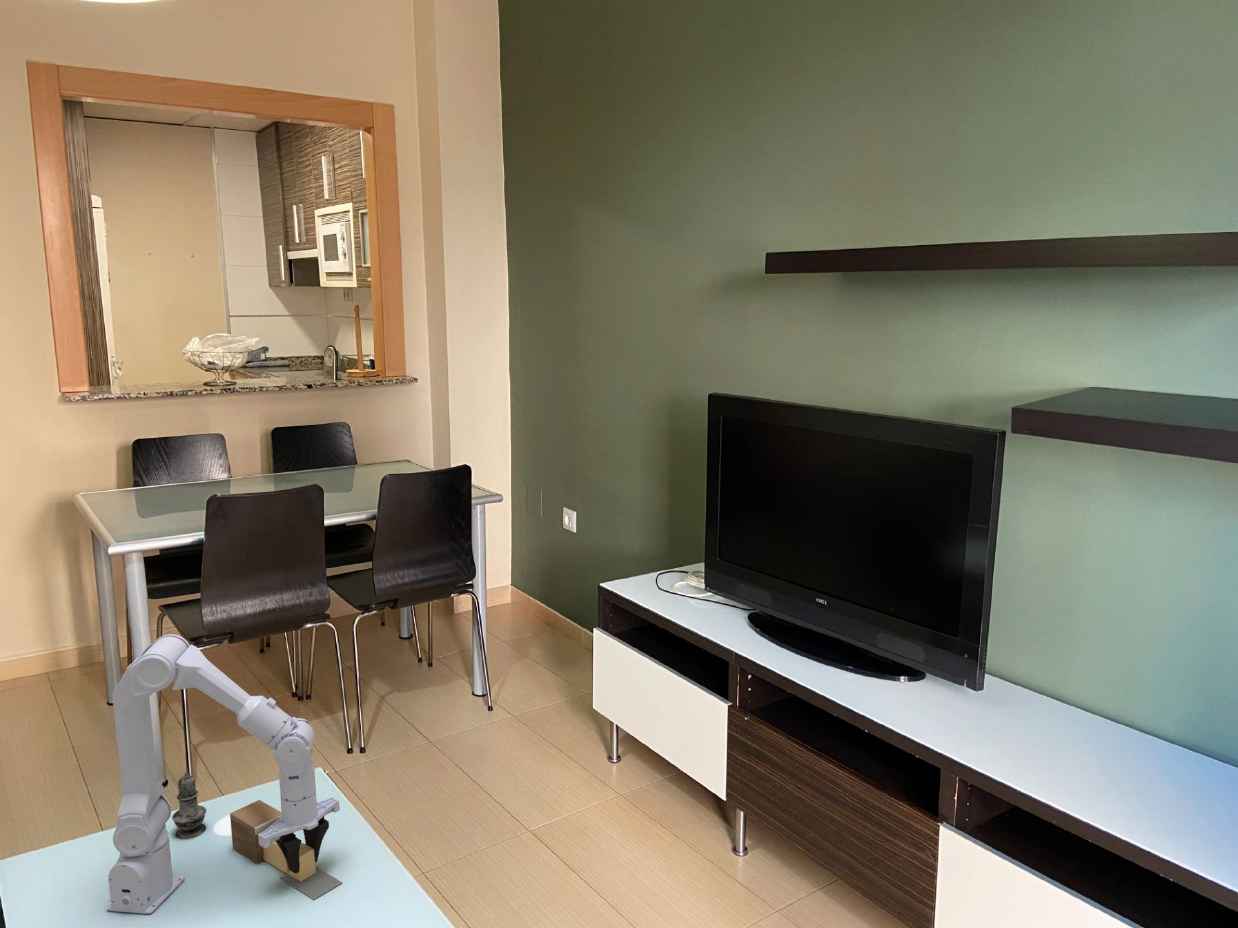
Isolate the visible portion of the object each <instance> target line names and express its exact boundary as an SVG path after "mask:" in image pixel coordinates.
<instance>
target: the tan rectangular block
mask: <svg viewBox="0 0 1238 928" xmlns="http://www.w3.org/2000/svg"><path fill="white" fill-rule="evenodd" d="M261 850H262V861H265V862H267V863H268V864H269V865H271V866H273V867H275V868H277V869H278V870H280V871H282V872H283V873H285V874H288V875H290V876H292V877H294V878H295V879H297V880H299V881H300V882H301V881H303V880H305V879H306V878H308V877H310V876H312V875H313V874H315V873H316V868H315V866H316V863H315V856H314V849H313V848H311V847H309V846H307V845H305V842H304V843H303V842H302V841H301V844H300V850H299V863H300V869H299V872H298V873H296V874H295V873H293V872H292V871H290V870H289V868H288V864H287V862H286V859H285V857H284V855H283V853H282V851H281V849H280V848H279V846H278V845H277V843H276V842H275V841H274V842H272V843H271V846H269V847H267V848H264V847H262V846H261Z"/></svg>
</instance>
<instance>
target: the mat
mask: <svg viewBox="0 0 1238 928" xmlns="http://www.w3.org/2000/svg"><path fill="white" fill-rule="evenodd" d="M315 868H316V873H315V874H313V875H312V876H310V877H308V878H306V879H305V880H303V881H301V882H300V881H299V880H297V879H295V878H294V877H292V876H290V875H288V874H287V873H285V874H284V875H283V876H281V877H280V880H282V881H283V882H285V883H286V884H287V885H290V886H291V887H292V888H294V889H296V890H297V891H299V892H300V893H301V894H303V895H305V896H307V897H308V898H309V899H311V900H312V901H315V900H317V899H318V898H321V897H322V896H324V895H326V894H327V893H330V892H331V891H333V890H334V889H335V888H337V887H339V886H341V885H342V884H343V882H342V881H341V880H339V879H337V877H334V876H332V875H331V874H329V873H327V872H326V871H324V870H322V869H321V868H319V867H317V866H316V865H315Z"/></svg>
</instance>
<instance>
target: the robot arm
mask: <svg viewBox="0 0 1238 928" xmlns="http://www.w3.org/2000/svg"><path fill="white" fill-rule="evenodd" d="M172 683H174V685H173V686H172V691H179V690H186V689H192V688H195V689H197V690H198V691H200V692H202V693H203V694H205V695H207V696H208V697H209V698H211V699H213V700H215V701H216V702H217V703H219V704H221V705H222V706H224V707H226V708H227V709H228V710H230V711H232V712H234V713H235V715H236V719H237V725H238V726H240V727H241V728H242V729H243V730H245V731H246V732H248V734H250V735H252V736H253V737H254V738H256V739H257V740H258V741H260V742H261V743H263V744H264V745H266V746H267V747H268V748H270V749H272V750H273V751H272V756H273V758H274V760H275V761H276V763H277V764H278V769H279V770H278V780H279V781H278V782H279V794H280V796H279V797H280V810H281V811H280V812H282V817H281V818H279V819H278V820H277V821H276V822H275V823H273V824H272V825H271V826H270V827H268V828H267V829H266V830H264V831H263V832H261V833H259V834H258V841H259V845H261V846H262V847H264V848H267V847H269V846H271V843H272V842H274V841H275V842H276V843H277V845H278V846H279V848H280V849H281V851H282V853H283V855H284V857H285V859H286V862H287V864H288V868H289V870H290V871H292V872H293V873H295V874H296V873H298V872H299V869H300V863H299V850H300V844H301V842H302V839H300V838H298V837H296V836H297V835H296V834H295V833H296V832H299V831H302V832H303V835H304V841H305V842H304V844H305V845H307V846H309V847H311V848H313V849H314V856H315V864H316V863H317V862H318V860H319V854H320V851H321V847H322V843H323V840H324V838H325V835H326V833H327V831H328V830H329V828H330V821H329V820H327V819H326V818H325V816H327V815H328V814H331V813H337V812H339V811H341V810H340V807H341V806H340V800H339V799H338V798H335V797H333V796H332V797H330V798H326V799H325V800H321V801H317V788H316V787H317V785H316V772H315V771H316V770H315V764H314V755H313V752H314V751H313V749H312V748H313V745H314V741H315V737H316V731H315V729H314V727H313V725H312V724H311V723H310V722H309V721H308V720H307V719H305V718H302V717H301V718H300V717H299V718H298V717H295V716H293V717H292V716H290V715H289V714H288V713H287V712H285V711H284V710H282V709H281V708H280V707H279V706H278V705H276V703H277V701H276V700H275V699H273V698H272V697H269V698H268V699H267V698H266V697H265V696H264V695H250V694H249V693H248V692H246V691H245V690H244V689H242V687H240V686H239V685H238V684H237V683H236V682H234V681H233V680H232V679H231V678H230V677H228V676H227V675H226V674H225V673H224V672H222V671H221V670H220V669H219V668H218V667H217V666H215V664H213V663H212V661H210V660H208V659H207V657H206V656H205V655H204V653H203V652H202V651H201V650H200V648H198V647H197V646H196V645H193V644H190V643H189V642H188V640H187V639H185V638H184V637H182V636H180V635H178V634H172V633H171V634H170V633H169V634H165V635H161V636H160V637H158V638H157V639H155V640H154V641H153V642H152V643H150V644H149V645H148V646H146V647H145V648H144V650H143V651H142V652H141V653H140V654H139V655H138V656H137V657H136V658H135V659H134V660H133V661H132V662H131V663H130V664H129V665H128V666H127V667H126V670H125V672H124V673H123V674H122V677H121V678H120V680H119V681H118V683H117V684H116V686H115V688H114V690H113V692H112V706H113V715H114V726H115V734H116V744H117V754H118V763H119V774H120V785H121V794H122V797H121V800H120V803H119V807H118V811H117V814H116V819H117V821H116V823H117V825H116V828H115V830H114V832H113V835H112V843H113V846H114V848H115V849H116V850H117V851H118V852H119V857H118V858H117V861H116V862H115V864H114V865H113V866H112V868H111V869H110V870H109V873H108V880H107V881H108V887H109V889H108V890H109V897H110V904H109V905H107V907H106V910H107V911H109V912H119V913H121V912H124V913H134V914H147V915H149V914H152V913H154V912H155V911H156V910H157V909H158V907H159V906H160V905H162V903H163V902H164V901H165V900H166V899H167V898H168V897H170V895H171V894H172V893H173V892H174V891H175V890H176V889H177V888H178V887H179V886H180V885H181V884H182V883H183V882H184V881H185V880H186V878H185V876H183V875H173V868H172V855H171V845H170V834H169V832H168V830H167V826H166V823H167V822H168V821H169V819H170V817H172V816H171V815H172V804H171V802H170V801H169V800H168V798H167V796H166V794H165V791H164V790H165V789H164V785H162V784H161V783H159V782H158V772H157V771H158V769H157V762H156V751H155V742H154V741H155V740H154V731H153V730H154V729H153V722H152V721H153V718H152V709H151V698H150V697H151V696H152V695H153V694H156V693H157V692H160V691H162V690H164V689H167V688H168V686H170V685H171V684H172Z"/></svg>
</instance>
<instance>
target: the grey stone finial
mask: <svg viewBox="0 0 1238 928" xmlns="http://www.w3.org/2000/svg"><path fill="white" fill-rule="evenodd" d="M177 787H178V789H177V790H178V794H177V796H176V799H177V800H178V802H179V808H178V810H177V811H175V812H174V813H173V815H172V816H171V820H172V821H173V823H174V825H175V827H177V830H175V833H174V835H175V837H176V838H177V839H180V840H189V839H193V838H196V837H199V836H201V835H203V834H204V832H205V831H206V830H207V826H206V824H204V823H203V822H204V820H205V817H206V813H207V808H206V807H205V806H203V805H200V804H199V803H198V797H197V796H198V795H199V792H198V790H197V789H196V779H195V777H194V776H193V775H190V774H189V773H187V772H186V771H185V772H184V773H183V776H181V777H180V778H179V779H178V782H177ZM200 834H201V835H200Z"/></svg>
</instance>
